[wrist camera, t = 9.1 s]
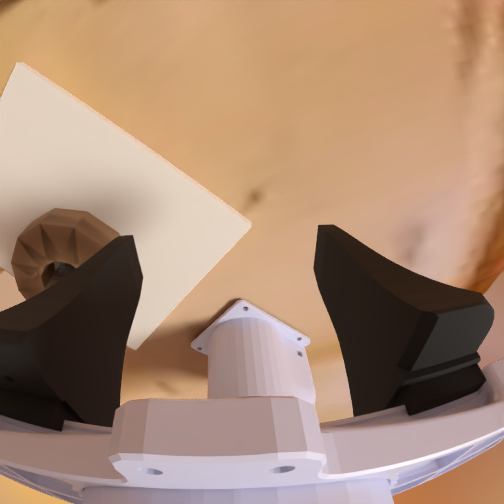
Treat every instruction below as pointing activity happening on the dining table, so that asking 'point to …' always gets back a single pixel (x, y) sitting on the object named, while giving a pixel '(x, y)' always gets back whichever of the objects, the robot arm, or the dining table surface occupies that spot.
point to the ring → (56, 246)
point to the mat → (107, 192)
